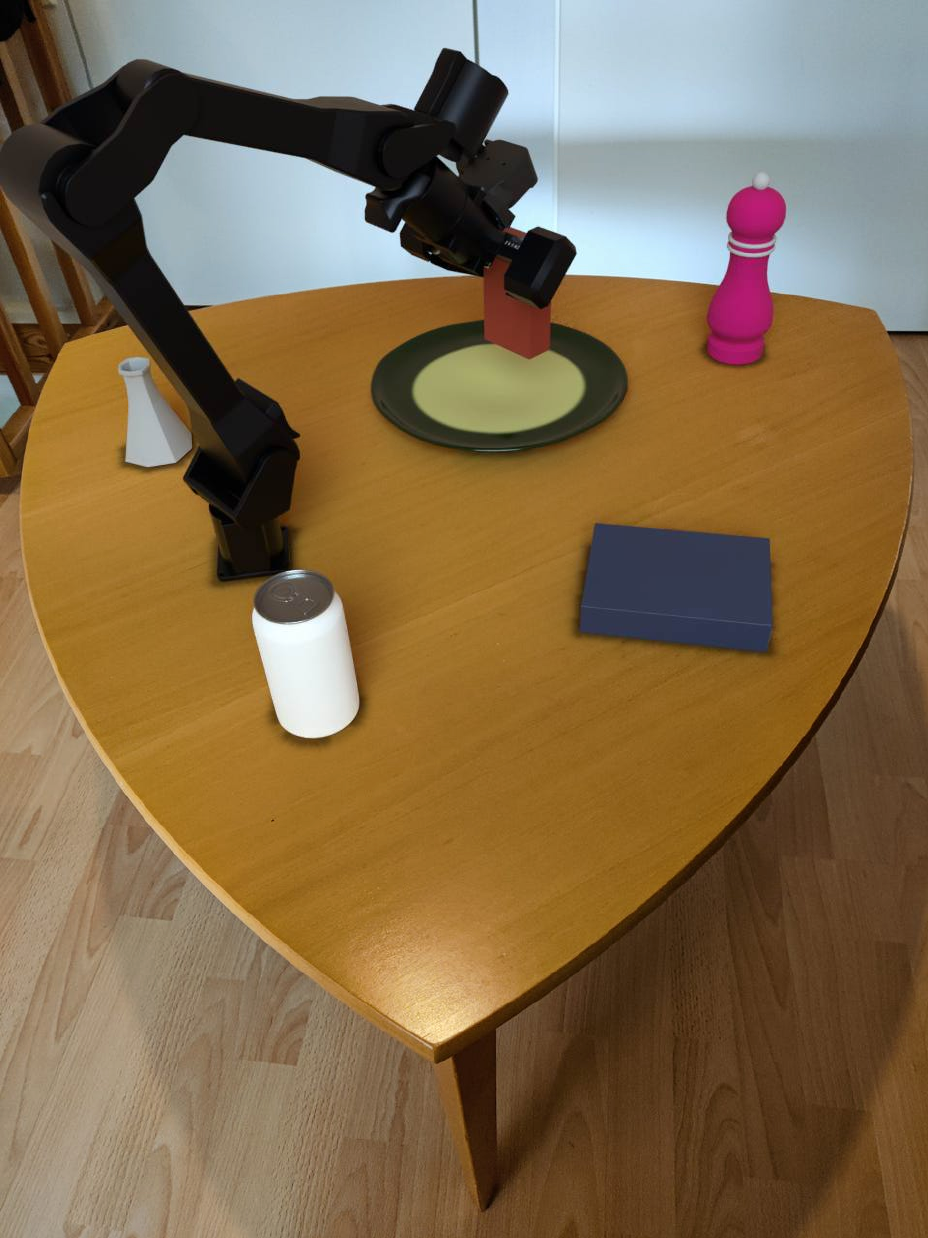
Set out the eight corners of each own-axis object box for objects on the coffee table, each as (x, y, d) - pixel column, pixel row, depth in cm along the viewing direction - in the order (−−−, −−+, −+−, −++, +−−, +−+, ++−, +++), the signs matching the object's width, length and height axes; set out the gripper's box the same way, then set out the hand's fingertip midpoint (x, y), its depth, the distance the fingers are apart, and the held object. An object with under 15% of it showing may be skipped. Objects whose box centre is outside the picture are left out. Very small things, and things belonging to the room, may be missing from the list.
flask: (202, 431, 107) (180, 346, 101) (182, 470, 102) (157, 383, 95) (138, 430, 108) (111, 345, 101) (114, 468, 103) (85, 382, 96)
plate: (337, 454, 103) (334, 434, 101) (411, 327, 122) (409, 308, 121) (608, 482, 97) (609, 461, 96) (640, 344, 117) (642, 324, 115)
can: (319, 667, 81) (295, 553, 73) (377, 703, 78) (359, 588, 69) (260, 715, 77) (227, 601, 69) (318, 755, 74) (292, 641, 66)
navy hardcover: (579, 632, 82) (580, 606, 80) (593, 548, 90) (594, 522, 88) (767, 652, 80) (773, 625, 78) (764, 564, 88) (770, 537, 86)
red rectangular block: (529, 359, 100) (531, 251, 92) (484, 338, 103) (482, 233, 96) (549, 349, 101) (553, 242, 94) (504, 329, 105) (504, 224, 98)
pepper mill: (689, 345, 116) (711, 168, 102) (741, 331, 118) (769, 154, 104) (726, 373, 111) (755, 190, 97) (779, 357, 113) (814, 176, 99)
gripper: (565, 142, 80) (642, 236, 93) (412, 98, 90) (500, 188, 103) (497, 269, 82) (582, 343, 95) (355, 211, 92) (449, 286, 105)
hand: (527, 285), depth 99 cm, fingers closed on red rectangular block, 6 cm apart
